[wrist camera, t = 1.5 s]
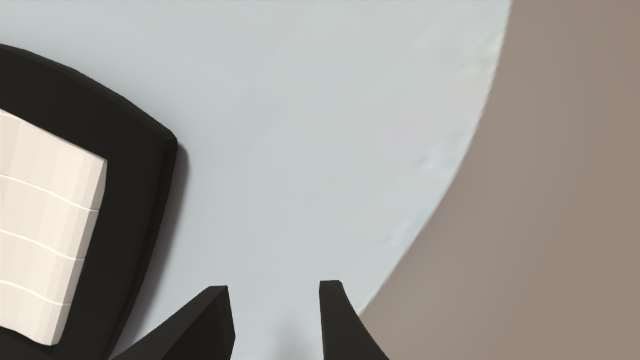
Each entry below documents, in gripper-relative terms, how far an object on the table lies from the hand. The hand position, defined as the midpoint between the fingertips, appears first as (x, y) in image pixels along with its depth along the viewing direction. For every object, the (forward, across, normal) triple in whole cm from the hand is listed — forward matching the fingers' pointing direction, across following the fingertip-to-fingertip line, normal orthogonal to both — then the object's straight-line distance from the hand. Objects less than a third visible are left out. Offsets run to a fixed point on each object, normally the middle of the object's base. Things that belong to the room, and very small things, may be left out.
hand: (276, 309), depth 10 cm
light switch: (+9, +16, 0) cm, 18 cm away
